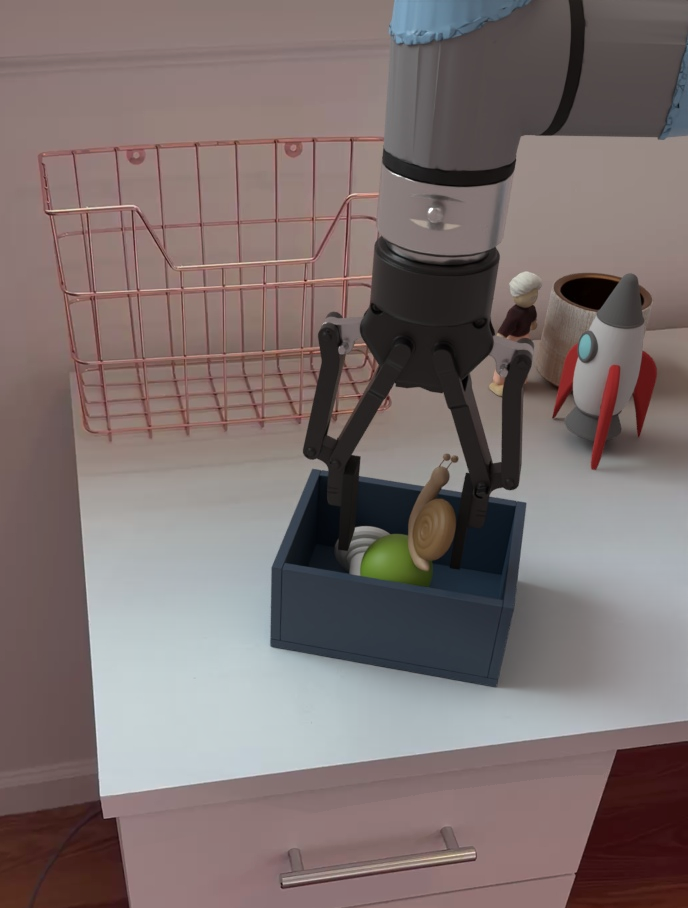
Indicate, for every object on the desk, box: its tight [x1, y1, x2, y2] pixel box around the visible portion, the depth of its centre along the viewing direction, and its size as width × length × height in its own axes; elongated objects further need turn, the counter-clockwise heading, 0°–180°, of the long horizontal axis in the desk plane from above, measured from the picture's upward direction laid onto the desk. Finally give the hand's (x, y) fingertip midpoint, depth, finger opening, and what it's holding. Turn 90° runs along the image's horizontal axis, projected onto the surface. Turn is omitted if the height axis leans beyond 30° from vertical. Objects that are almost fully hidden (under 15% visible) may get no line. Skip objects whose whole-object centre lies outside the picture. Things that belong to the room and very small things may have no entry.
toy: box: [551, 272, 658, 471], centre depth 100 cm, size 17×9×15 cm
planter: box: [535, 272, 654, 394], centre depth 112 cm, size 11×11×10 cm
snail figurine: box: [360, 453, 459, 587], centre depth 75 cm, size 5×6×12 cm
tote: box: [269, 468, 527, 688], centre depth 81 cm, size 18×14×8 cm
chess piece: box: [334, 526, 390, 576], centre depth 81 cm, size 5×5×9 cm
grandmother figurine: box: [488, 270, 543, 397], centre depth 109 cm, size 8×4×13 cm, turn 150°
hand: (401, 548), depth 76 cm, fingers open, 8 cm apart
